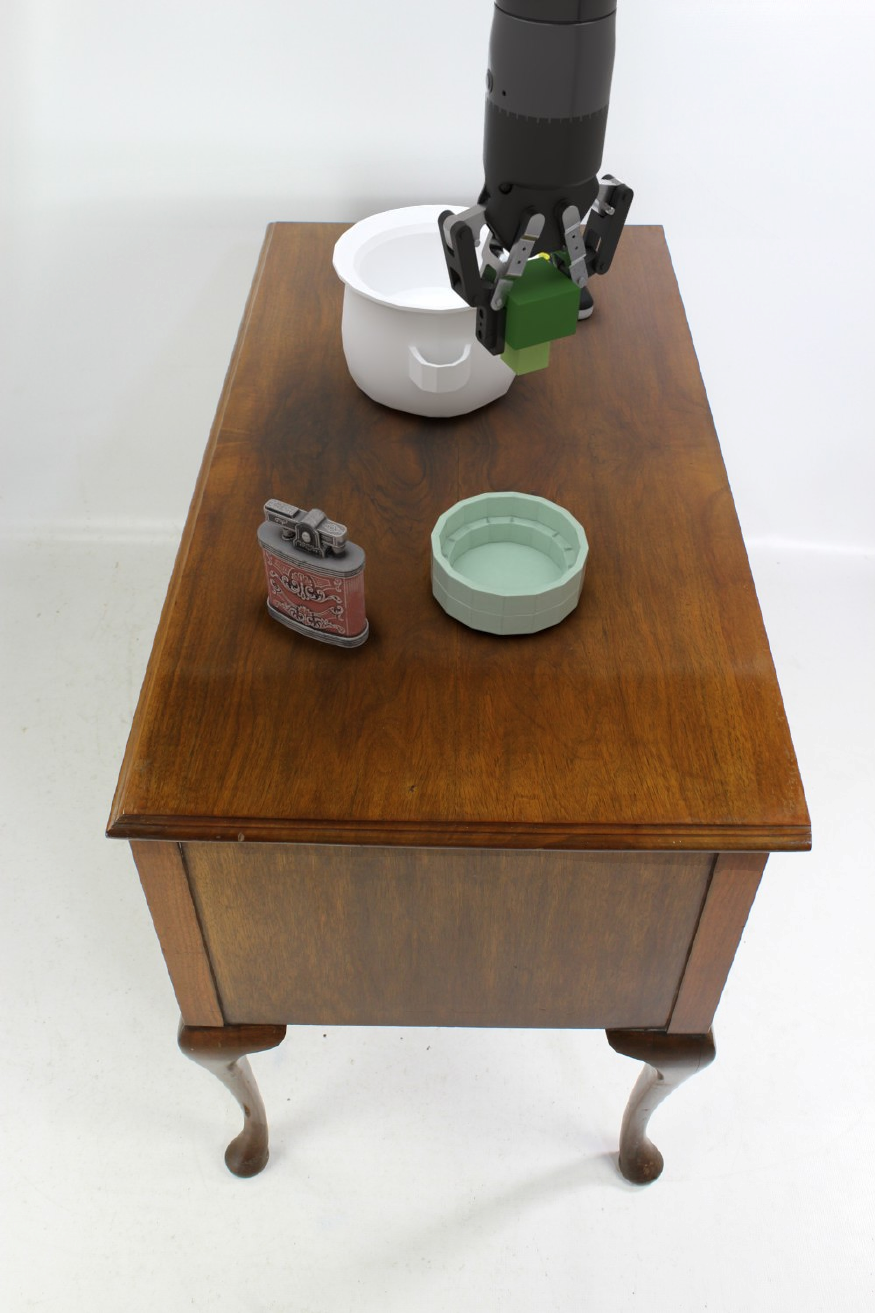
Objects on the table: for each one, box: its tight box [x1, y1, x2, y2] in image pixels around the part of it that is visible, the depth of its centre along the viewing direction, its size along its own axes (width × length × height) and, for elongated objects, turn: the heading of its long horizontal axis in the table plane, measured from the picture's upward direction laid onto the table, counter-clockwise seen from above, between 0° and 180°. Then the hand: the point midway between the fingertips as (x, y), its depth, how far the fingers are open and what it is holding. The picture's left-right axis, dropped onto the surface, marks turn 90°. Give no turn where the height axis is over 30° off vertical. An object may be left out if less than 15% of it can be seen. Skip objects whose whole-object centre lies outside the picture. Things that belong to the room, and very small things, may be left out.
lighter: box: [256, 498, 370, 649], centre depth 74 cm, size 8×3×10 cm, turn 62°
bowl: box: [429, 491, 590, 636], centre depth 78 cm, size 11×11×4 cm
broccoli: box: [500, 257, 581, 376], centre depth 76 cm, size 5×5×6 cm
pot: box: [332, 204, 539, 418], centre depth 94 cm, size 22×17×12 cm
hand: (526, 339), depth 77 cm, fingers closed on broccoli, 5 cm apart
